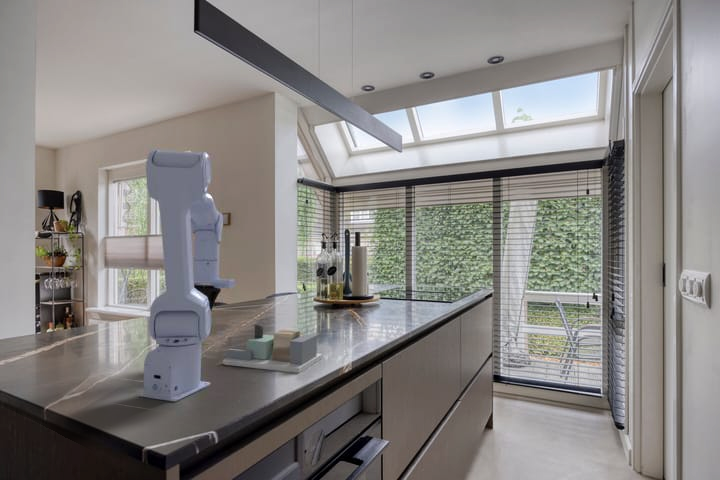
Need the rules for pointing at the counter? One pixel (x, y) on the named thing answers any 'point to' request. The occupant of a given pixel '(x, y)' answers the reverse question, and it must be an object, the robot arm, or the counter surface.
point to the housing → (283, 343)
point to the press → (300, 359)
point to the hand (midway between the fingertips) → (204, 317)
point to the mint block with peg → (261, 344)
